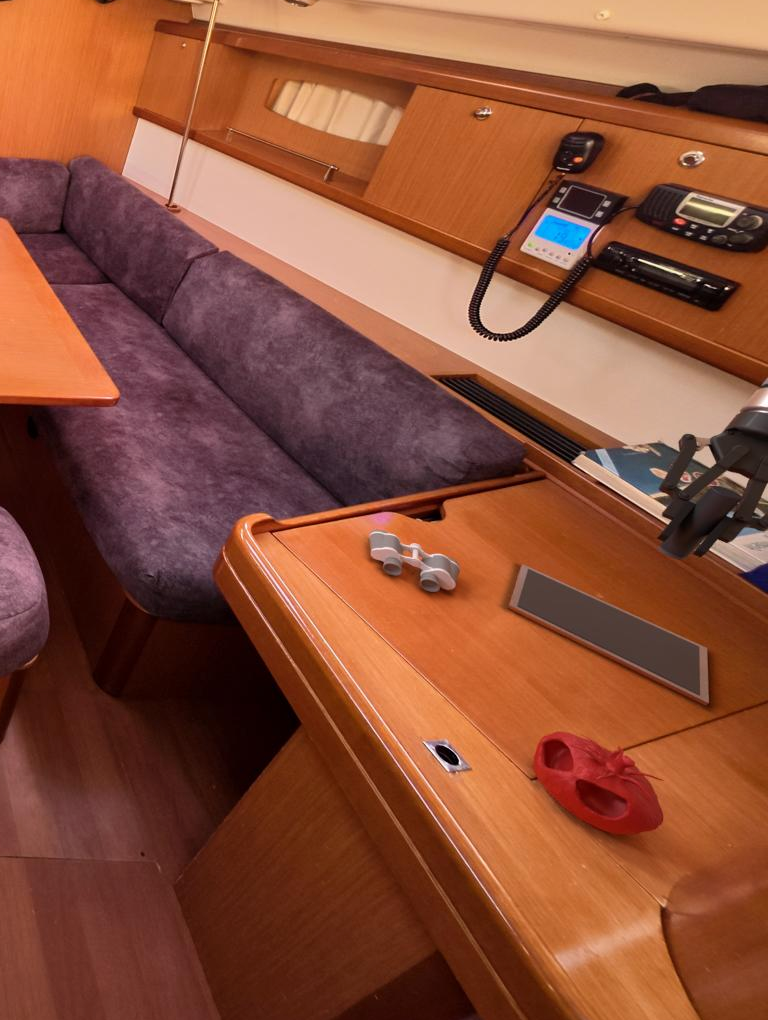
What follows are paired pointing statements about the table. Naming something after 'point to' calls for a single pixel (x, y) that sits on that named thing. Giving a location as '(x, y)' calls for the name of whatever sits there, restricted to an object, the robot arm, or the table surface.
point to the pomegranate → (597, 784)
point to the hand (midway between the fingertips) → (680, 545)
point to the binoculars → (414, 561)
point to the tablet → (613, 633)
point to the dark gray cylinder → (700, 522)
